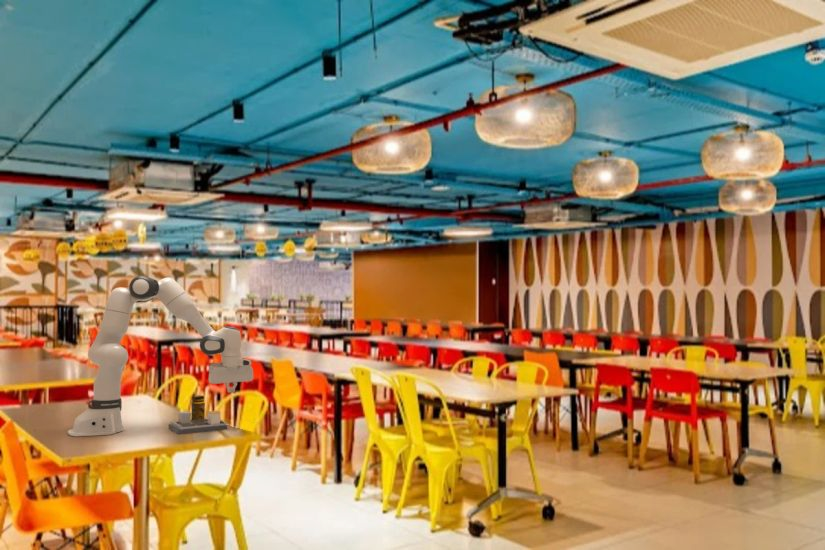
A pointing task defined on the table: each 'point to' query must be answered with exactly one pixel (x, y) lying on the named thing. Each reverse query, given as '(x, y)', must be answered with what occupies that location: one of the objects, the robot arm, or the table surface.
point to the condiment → (198, 408)
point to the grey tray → (196, 426)
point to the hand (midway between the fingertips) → (231, 392)
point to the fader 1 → (184, 417)
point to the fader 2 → (213, 417)
